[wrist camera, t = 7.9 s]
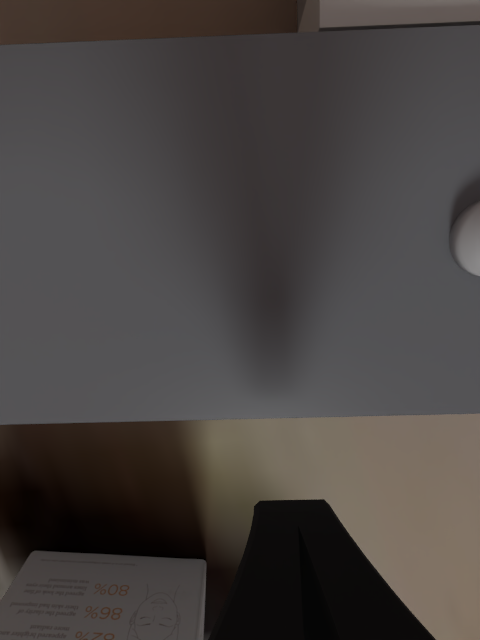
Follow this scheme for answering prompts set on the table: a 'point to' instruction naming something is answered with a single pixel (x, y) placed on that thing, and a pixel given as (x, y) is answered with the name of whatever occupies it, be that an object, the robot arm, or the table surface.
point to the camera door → (384, 14)
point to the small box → (104, 598)
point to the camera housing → (240, 226)
